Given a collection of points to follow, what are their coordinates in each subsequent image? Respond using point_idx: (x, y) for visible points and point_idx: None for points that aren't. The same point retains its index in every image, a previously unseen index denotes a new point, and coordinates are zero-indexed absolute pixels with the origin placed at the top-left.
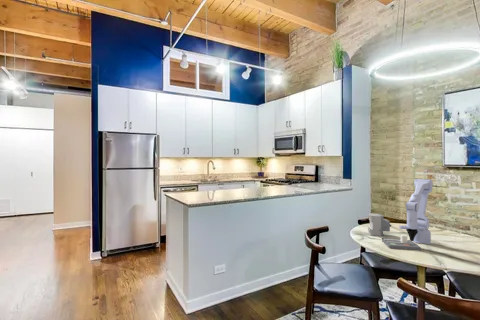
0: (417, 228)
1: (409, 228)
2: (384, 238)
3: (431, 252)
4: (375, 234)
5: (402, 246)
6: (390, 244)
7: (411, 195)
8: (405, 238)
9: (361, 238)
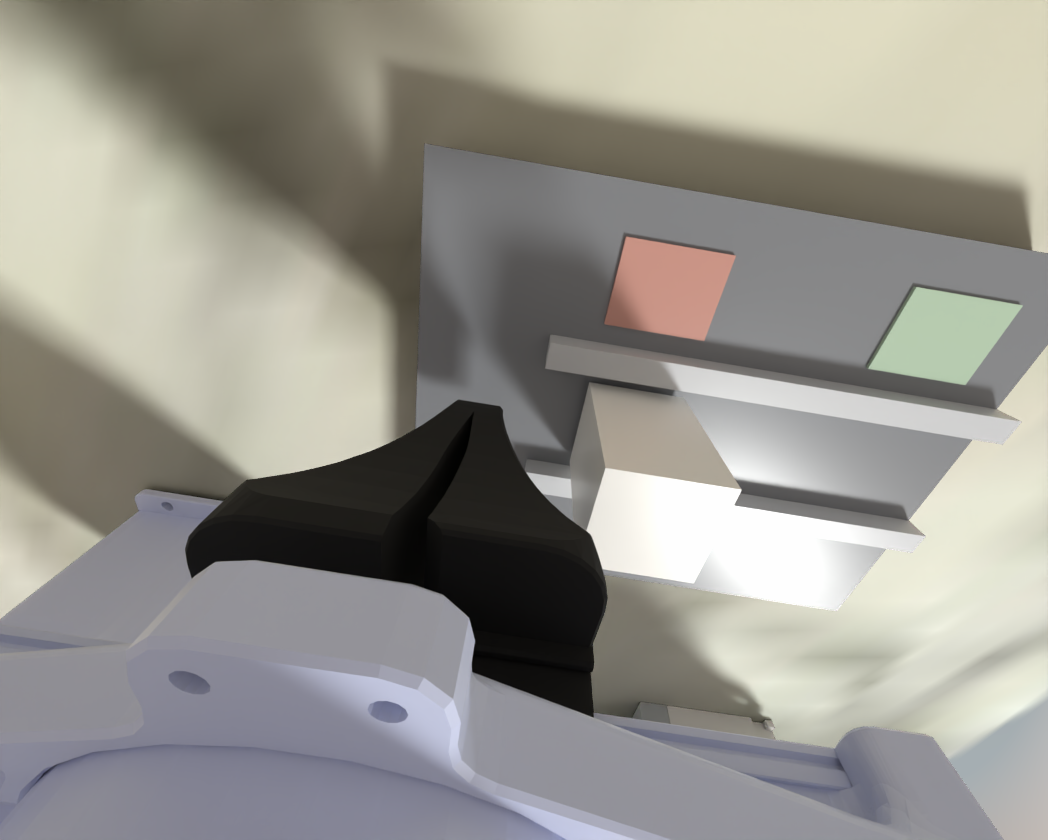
0: (60, 686)
1: (614, 726)
2: (803, 603)
3: (258, 28)
4: (730, 732)
5: (818, 213)
6: (1034, 306)
7: None
8: (645, 438)
9: (1027, 650)
